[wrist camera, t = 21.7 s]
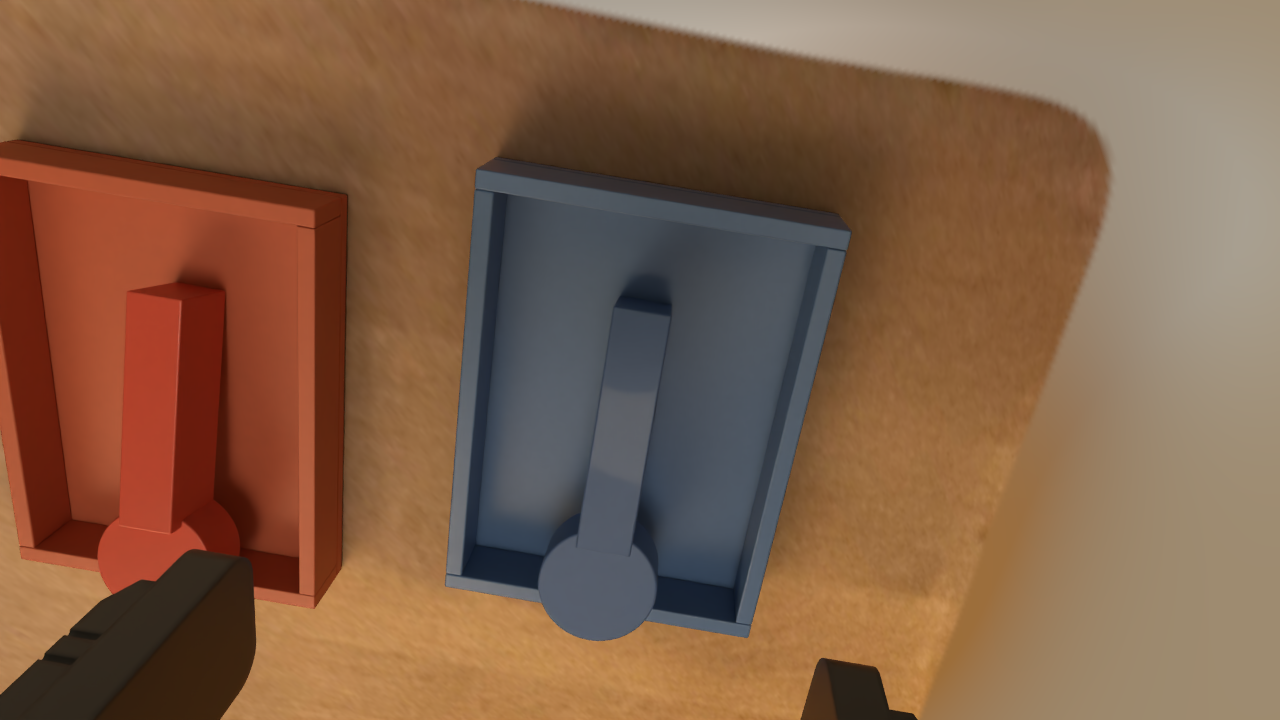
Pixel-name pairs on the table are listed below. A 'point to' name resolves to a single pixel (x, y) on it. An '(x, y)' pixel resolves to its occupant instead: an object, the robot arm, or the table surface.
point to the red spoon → (168, 435)
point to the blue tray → (689, 389)
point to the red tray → (95, 345)
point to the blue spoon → (613, 491)
